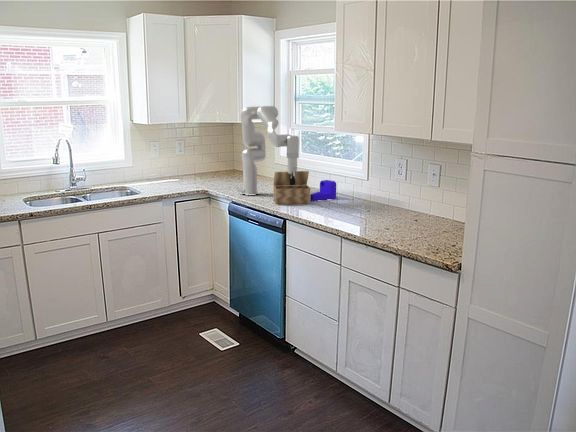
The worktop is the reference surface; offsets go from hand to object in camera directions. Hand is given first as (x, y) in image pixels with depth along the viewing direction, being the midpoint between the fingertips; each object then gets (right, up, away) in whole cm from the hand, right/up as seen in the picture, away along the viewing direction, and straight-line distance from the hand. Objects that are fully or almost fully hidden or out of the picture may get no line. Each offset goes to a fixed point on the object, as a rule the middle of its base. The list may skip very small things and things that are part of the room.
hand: (292, 184), depth 333 cm
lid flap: (-1, +4, +6) cm, 7 cm away
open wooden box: (-1, -11, +7) cm, 13 cm away
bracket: (+19, -9, +17) cm, 27 cm away
